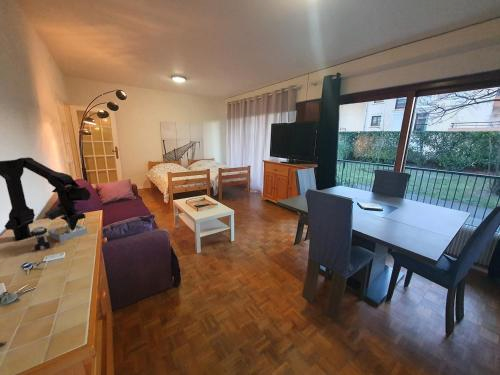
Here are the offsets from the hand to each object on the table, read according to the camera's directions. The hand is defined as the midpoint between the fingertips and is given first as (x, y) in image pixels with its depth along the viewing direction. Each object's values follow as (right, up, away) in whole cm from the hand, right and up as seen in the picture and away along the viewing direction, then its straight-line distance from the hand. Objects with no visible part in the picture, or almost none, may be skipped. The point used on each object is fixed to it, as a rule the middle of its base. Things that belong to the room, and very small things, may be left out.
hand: (72, 230), depth 107 cm
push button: (-6, -7, -10) cm, 14 cm away
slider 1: (-5, -1, -2) cm, 5 cm away
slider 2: (-3, -1, +2) cm, 3 cm away
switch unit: (-6, -3, +4) cm, 8 cm away
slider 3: (-6, +1, +8) cm, 10 cm away
